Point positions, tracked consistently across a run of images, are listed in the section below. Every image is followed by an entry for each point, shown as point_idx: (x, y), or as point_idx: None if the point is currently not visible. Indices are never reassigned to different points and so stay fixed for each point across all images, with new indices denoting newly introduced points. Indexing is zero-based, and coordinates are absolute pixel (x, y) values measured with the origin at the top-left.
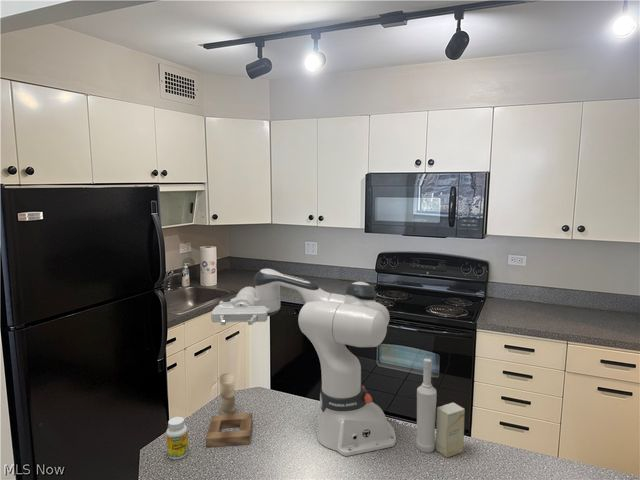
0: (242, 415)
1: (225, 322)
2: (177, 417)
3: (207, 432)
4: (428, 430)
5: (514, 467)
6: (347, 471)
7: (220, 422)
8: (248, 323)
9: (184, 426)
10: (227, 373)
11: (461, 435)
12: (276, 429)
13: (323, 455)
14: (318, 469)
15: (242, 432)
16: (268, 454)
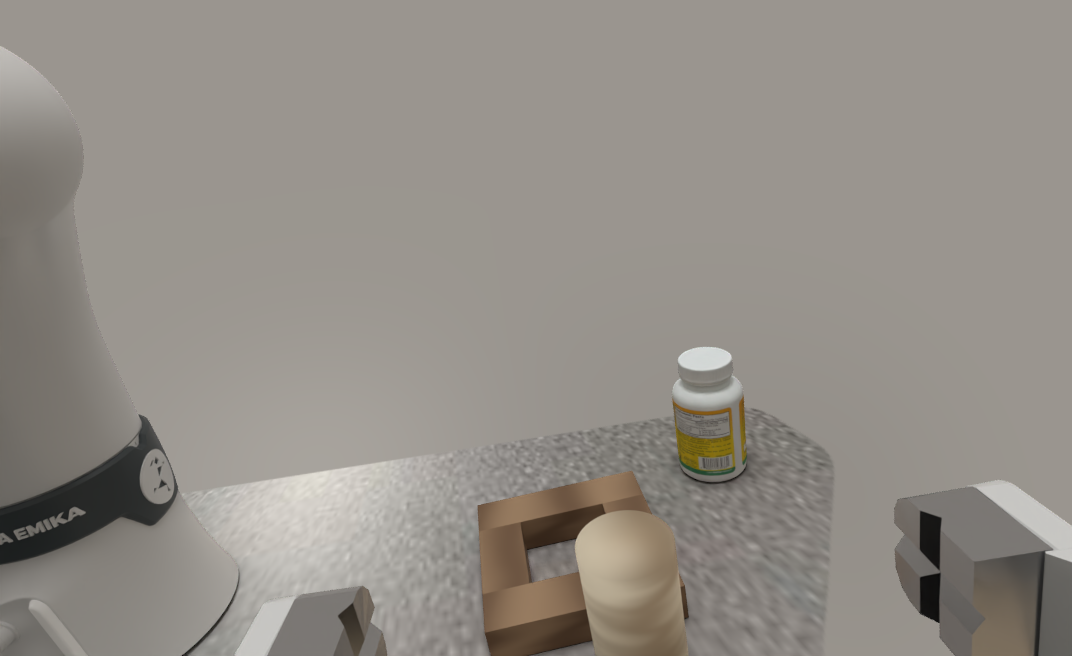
0: (530, 608)
1: (943, 598)
2: (711, 365)
3: (642, 494)
4: None
5: None
6: (219, 493)
7: None
8: (369, 632)
9: (682, 388)
10: (637, 576)
11: None
12: (380, 620)
13: (253, 529)
14: (290, 487)
15: (507, 515)
16: (420, 506)
